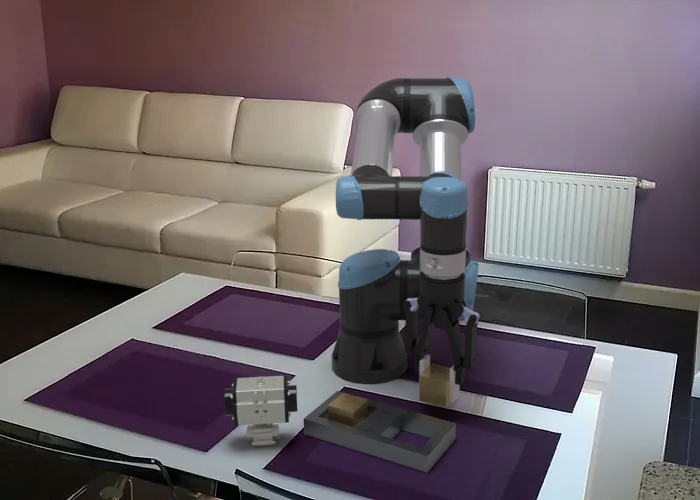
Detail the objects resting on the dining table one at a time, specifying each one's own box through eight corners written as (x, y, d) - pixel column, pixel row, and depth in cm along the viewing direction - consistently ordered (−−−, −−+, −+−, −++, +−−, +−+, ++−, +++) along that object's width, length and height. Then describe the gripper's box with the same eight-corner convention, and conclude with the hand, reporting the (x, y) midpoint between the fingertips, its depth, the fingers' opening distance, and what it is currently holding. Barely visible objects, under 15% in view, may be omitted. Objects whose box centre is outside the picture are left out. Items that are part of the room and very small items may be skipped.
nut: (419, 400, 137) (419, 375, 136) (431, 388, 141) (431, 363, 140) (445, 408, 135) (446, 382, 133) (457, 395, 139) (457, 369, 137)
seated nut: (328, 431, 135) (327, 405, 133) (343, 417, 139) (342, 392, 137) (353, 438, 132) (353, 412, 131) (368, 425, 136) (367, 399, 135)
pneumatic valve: (229, 436, 134) (224, 372, 130) (298, 432, 134) (295, 368, 131) (227, 454, 128) (222, 388, 125) (298, 450, 129) (296, 384, 125)
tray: (304, 434, 134) (303, 418, 133) (337, 405, 143) (337, 390, 142) (427, 472, 123) (427, 456, 122) (455, 439, 132) (455, 423, 131)
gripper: (383, 269, 131) (383, 391, 140) (485, 289, 123) (479, 418, 131) (403, 255, 138) (402, 373, 146) (502, 273, 129) (495, 397, 137)
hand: (439, 394), depth 138 cm, fingers closed on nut, 5 cm apart
